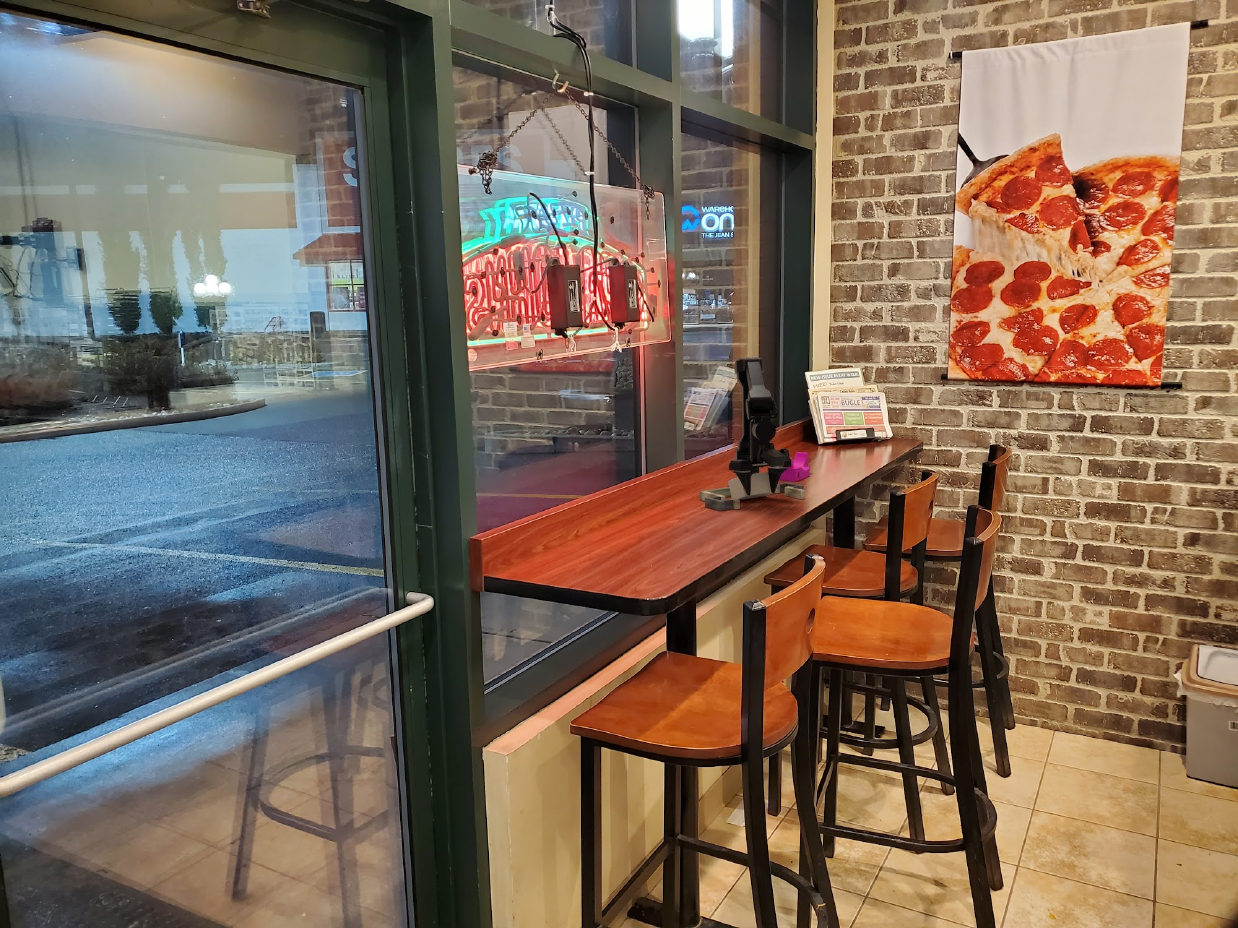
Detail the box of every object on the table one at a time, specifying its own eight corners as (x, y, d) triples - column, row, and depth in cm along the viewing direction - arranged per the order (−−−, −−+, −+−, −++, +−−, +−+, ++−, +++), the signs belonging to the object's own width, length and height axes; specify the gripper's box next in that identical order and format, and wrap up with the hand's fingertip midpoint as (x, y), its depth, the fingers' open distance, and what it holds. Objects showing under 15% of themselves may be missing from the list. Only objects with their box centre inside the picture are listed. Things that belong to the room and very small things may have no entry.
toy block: (795, 482, 295) (795, 459, 294) (777, 481, 299) (777, 458, 298) (815, 475, 307) (815, 453, 306) (797, 474, 311) (798, 452, 310)
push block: (732, 501, 268) (727, 481, 269) (764, 496, 274) (759, 476, 275) (745, 496, 263) (739, 475, 264) (777, 490, 269) (771, 471, 270)
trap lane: (686, 501, 269) (686, 492, 269) (778, 488, 286) (778, 480, 285) (722, 511, 254) (722, 502, 254) (816, 496, 271) (816, 488, 271)
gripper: (752, 442, 252) (753, 499, 254) (804, 438, 262) (805, 493, 263) (727, 440, 262) (728, 495, 263) (778, 436, 271) (778, 490, 273)
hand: (761, 494), depth 265 cm, fingers open, 9 cm apart
